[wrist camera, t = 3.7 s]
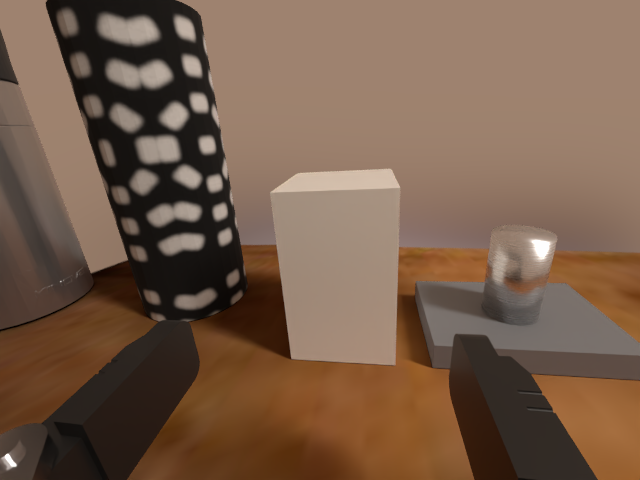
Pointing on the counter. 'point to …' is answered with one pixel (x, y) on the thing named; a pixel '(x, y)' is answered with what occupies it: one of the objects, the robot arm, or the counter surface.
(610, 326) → the base plate
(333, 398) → the counter surface
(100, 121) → the white-spotted black cylinder
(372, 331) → the block
